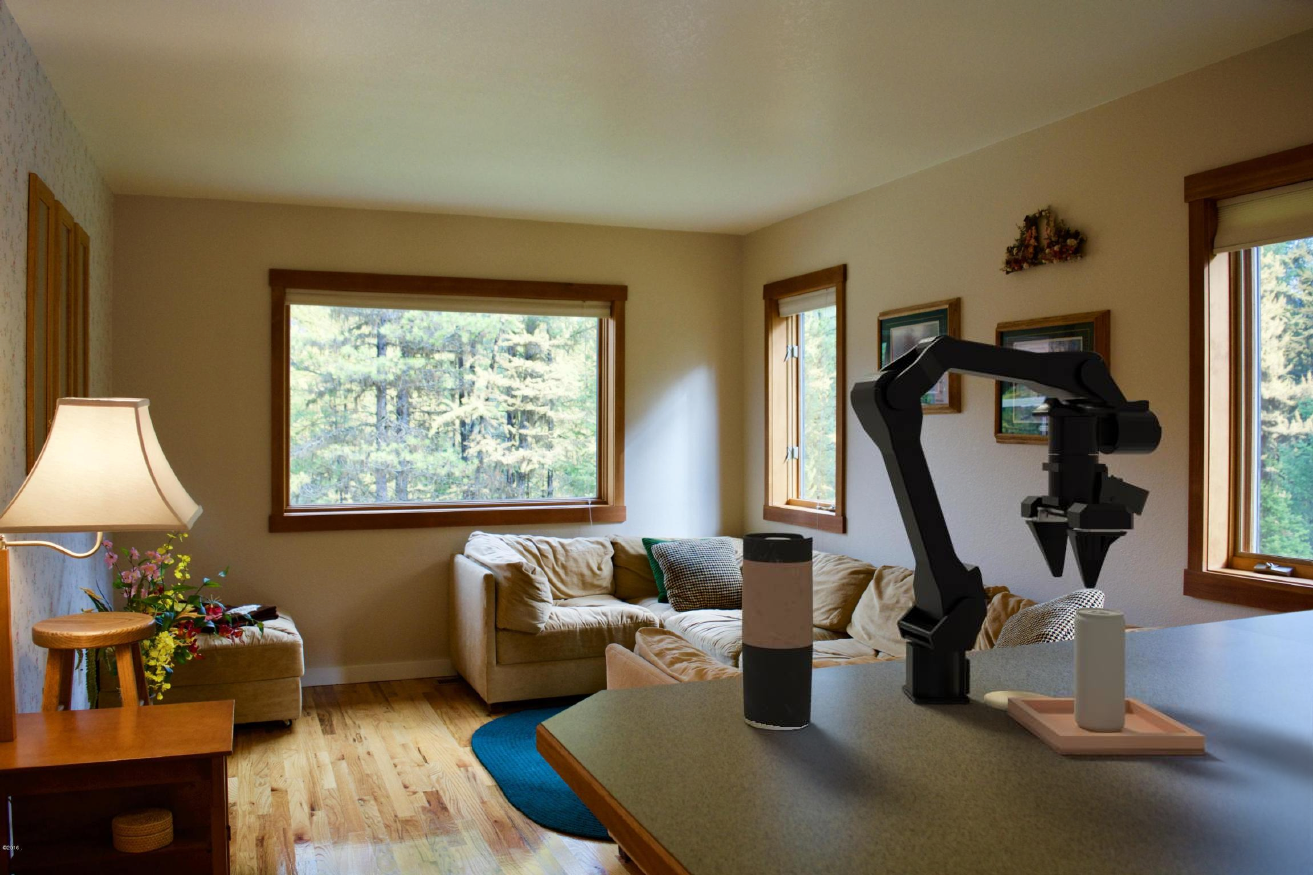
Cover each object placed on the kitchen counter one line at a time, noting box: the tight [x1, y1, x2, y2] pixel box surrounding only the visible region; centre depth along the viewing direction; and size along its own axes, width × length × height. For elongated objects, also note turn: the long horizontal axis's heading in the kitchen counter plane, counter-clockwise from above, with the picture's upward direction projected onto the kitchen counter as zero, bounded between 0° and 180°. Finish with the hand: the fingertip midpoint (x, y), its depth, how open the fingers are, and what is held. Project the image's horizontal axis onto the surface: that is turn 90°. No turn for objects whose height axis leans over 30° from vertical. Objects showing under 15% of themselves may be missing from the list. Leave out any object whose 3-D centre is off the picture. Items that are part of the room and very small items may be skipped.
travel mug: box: [741, 532, 814, 727], centre depth 106 cm, size 8×8×20 cm
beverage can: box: [1073, 607, 1126, 732], centre depth 102 cm, size 5×5×12 cm
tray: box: [1007, 697, 1206, 756], centre depth 102 cm, size 14×14×2 cm
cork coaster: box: [983, 690, 1052, 712], centre depth 113 cm, size 8×8×1 cm
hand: (1073, 582), depth 120 cm, fingers open, 9 cm apart
